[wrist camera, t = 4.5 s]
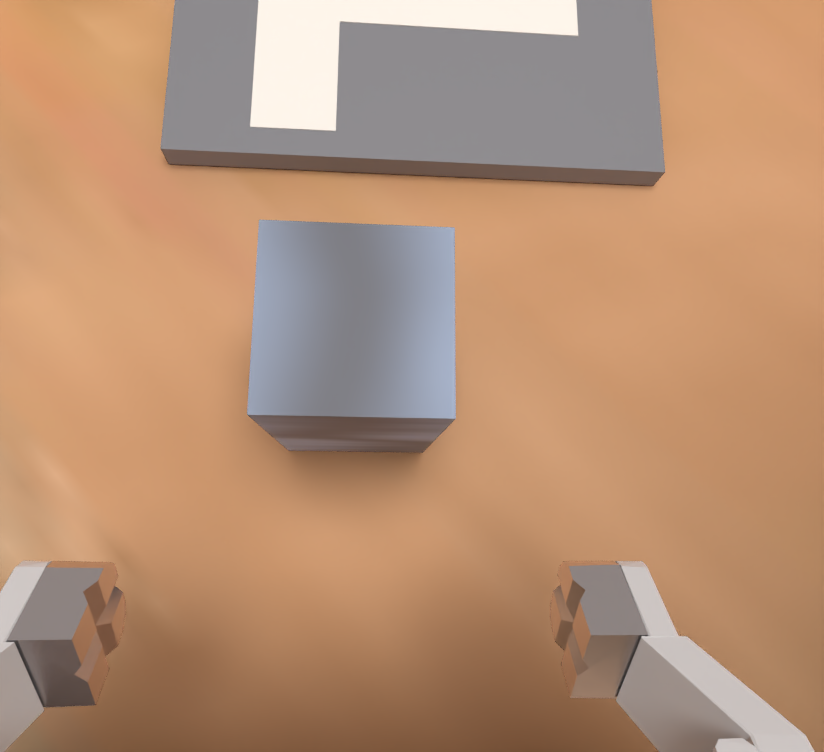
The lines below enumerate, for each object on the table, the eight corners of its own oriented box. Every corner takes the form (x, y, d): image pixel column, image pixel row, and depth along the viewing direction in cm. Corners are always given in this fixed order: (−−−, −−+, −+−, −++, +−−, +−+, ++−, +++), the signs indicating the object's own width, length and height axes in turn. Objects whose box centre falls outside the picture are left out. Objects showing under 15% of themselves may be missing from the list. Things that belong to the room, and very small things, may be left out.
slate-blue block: (423, 325, 23) (454, 227, 15) (422, 452, 22) (455, 418, 14) (294, 321, 23) (258, 219, 15) (288, 450, 22) (247, 414, 14)
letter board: (630, -117, 28) (640, -141, 27) (653, 185, 25) (665, 171, 24) (198, -151, 26) (191, -177, 25) (168, 163, 23) (160, 148, 22)
